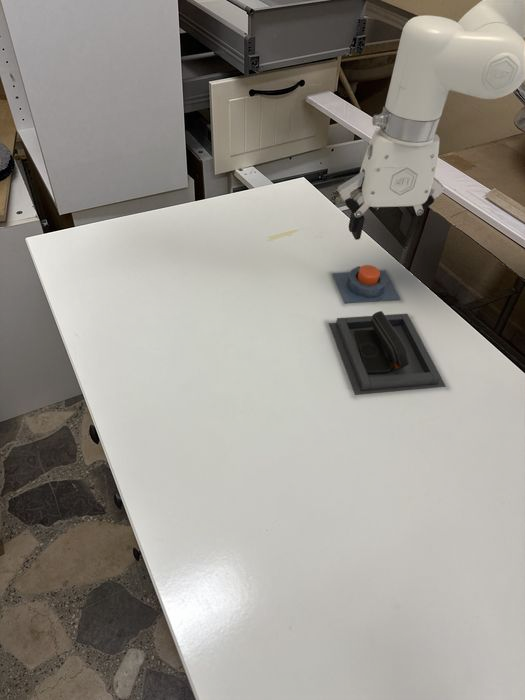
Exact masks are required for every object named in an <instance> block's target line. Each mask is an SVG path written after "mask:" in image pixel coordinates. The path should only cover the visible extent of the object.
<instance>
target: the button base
mask: <svg viewBox="0 0 525 700" xmlns="http://www.w3.org/2000/svg"><path fill="white" fill-rule="evenodd" d="M360 267H361V265H359V266H356V267H353V268H352V269H351V270H350V271H347V272H333V273H331V275H332V278H333V280H334V283H335V285H336V287H337V290H338V292H339V295H340V296H341V299H342V301H343V303H344V304H361V303H377V302H391V301H392V302H393V301H394V302H395V301H401V297H400V295H399V293H398V292H397V290H396V287H395V286H394V283H393V282H392V280H391V278H390V276H389V274H388V272H387V271H386V270H385V269H384V270H380V269H379V271H380V276H379V280H378V283H377V284H375V285H366V284H362V283H361V282H359V281H358V279H357V276H358V272H359V269H360Z"/></svg>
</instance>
